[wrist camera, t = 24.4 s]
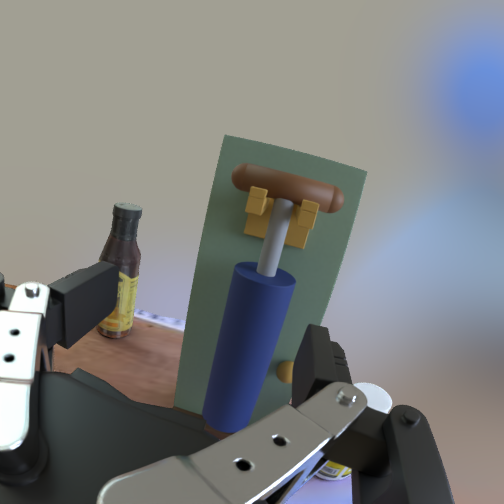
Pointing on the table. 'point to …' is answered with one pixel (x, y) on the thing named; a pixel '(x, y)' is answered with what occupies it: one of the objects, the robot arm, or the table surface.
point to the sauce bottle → (122, 268)
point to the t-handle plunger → (258, 299)
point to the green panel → (248, 250)
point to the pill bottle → (376, 401)
